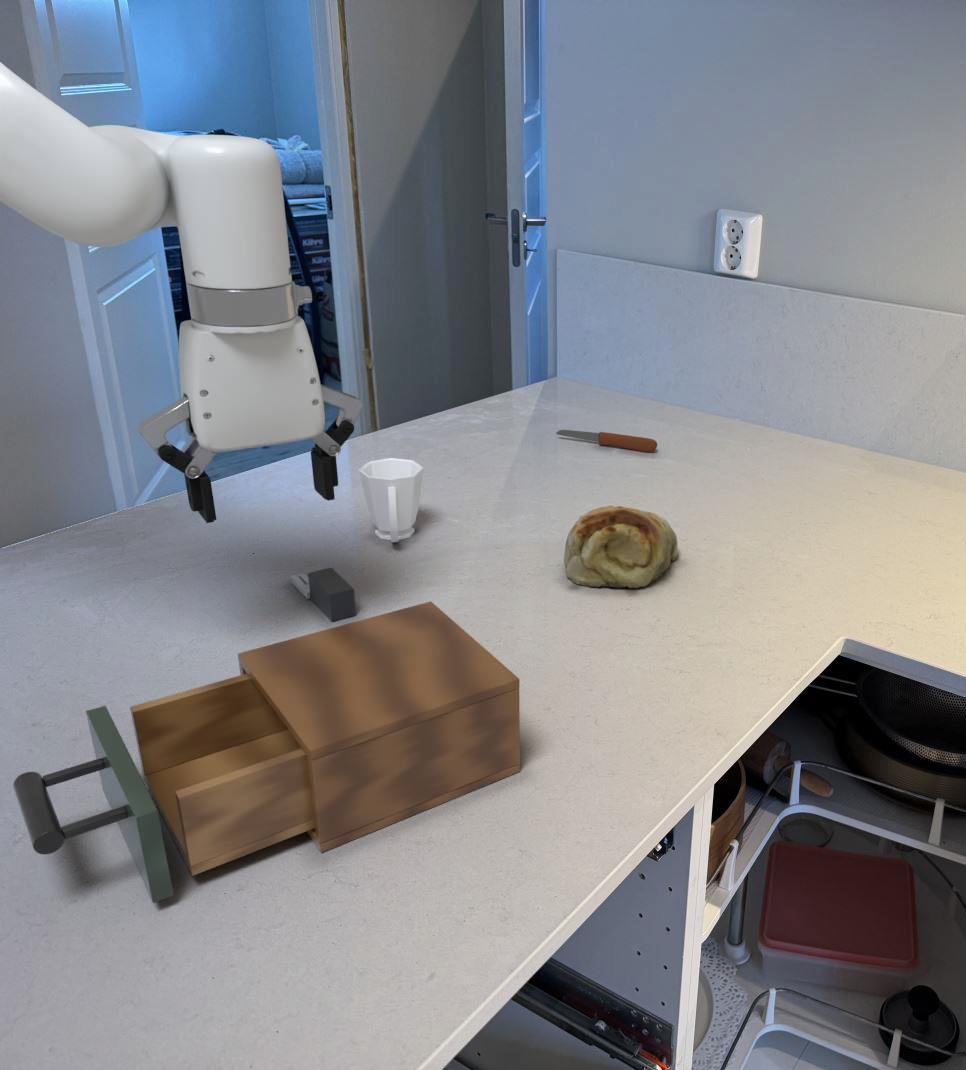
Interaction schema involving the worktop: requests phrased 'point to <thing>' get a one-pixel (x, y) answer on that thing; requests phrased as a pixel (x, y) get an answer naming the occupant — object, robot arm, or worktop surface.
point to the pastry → (619, 548)
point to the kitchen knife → (613, 439)
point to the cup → (392, 495)
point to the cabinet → (390, 716)
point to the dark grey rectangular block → (327, 592)
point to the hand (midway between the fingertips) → (267, 505)
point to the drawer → (187, 781)
